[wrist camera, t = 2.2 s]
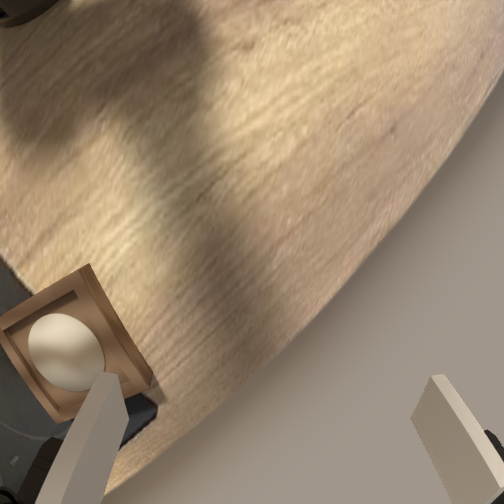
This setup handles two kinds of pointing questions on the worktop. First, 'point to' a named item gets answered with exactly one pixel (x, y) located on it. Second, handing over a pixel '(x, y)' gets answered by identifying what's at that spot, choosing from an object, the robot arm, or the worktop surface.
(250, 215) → the worktop surface
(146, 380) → the wooden coaster holder
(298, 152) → the worktop surface
